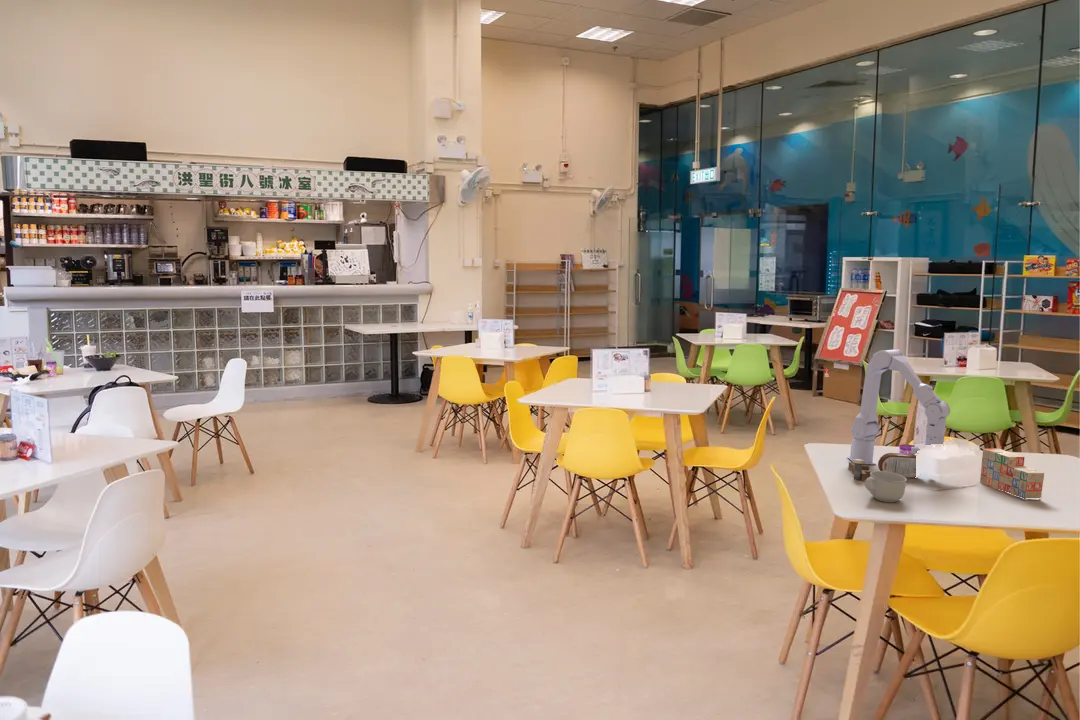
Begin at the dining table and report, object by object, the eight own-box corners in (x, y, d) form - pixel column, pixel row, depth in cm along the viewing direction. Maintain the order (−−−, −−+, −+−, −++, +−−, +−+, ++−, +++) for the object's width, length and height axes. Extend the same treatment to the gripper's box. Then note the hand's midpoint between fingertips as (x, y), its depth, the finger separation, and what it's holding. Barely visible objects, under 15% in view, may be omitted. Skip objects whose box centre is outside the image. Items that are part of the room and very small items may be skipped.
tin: (920, 477, 286) (923, 454, 285) (924, 479, 283) (926, 456, 282) (876, 475, 287) (878, 451, 286) (879, 477, 284) (881, 453, 283)
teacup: (891, 494, 263) (893, 470, 262) (912, 504, 253) (914, 479, 252) (852, 495, 261) (854, 470, 260) (871, 505, 250) (873, 480, 249)
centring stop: (839, 468, 294) (841, 450, 294) (863, 469, 294) (865, 451, 293) (852, 480, 279) (854, 461, 278) (878, 481, 278) (880, 462, 277)
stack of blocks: (1041, 500, 262) (1045, 463, 261) (1024, 501, 261) (1028, 463, 260) (995, 482, 283) (999, 447, 281) (979, 482, 282) (982, 447, 281)
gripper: (917, 437, 279) (914, 476, 281) (961, 440, 278) (957, 478, 279) (910, 433, 286) (906, 470, 288) (952, 435, 285) (949, 473, 286)
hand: (931, 474), depth 284 cm, fingers closed
